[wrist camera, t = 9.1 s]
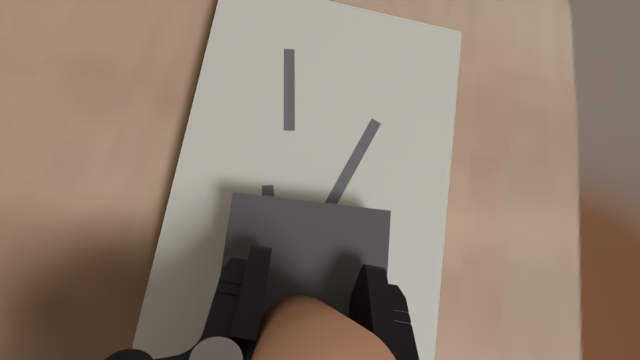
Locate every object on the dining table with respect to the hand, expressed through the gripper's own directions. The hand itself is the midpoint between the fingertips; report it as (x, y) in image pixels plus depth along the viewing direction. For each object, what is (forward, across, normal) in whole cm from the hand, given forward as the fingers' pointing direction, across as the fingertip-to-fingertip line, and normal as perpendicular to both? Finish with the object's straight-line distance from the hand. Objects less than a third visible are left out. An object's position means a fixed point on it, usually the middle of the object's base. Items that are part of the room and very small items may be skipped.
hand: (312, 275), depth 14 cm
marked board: (+3, 0, +3) cm, 4 cm away
